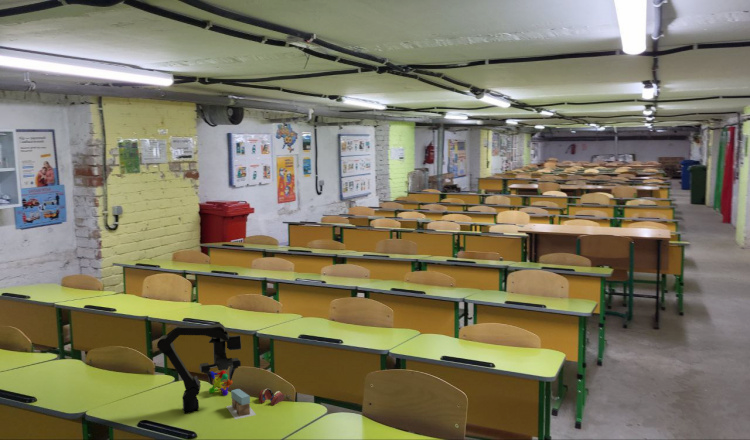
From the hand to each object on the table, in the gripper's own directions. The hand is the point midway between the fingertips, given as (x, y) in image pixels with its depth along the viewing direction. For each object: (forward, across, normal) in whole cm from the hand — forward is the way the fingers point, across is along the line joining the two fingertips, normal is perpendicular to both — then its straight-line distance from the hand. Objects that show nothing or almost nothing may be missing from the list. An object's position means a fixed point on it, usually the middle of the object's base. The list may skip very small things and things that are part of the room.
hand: (220, 382), depth 285 cm
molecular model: (+13, +4, +19) cm, 23 cm away
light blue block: (+7, +7, -9) cm, 13 cm away
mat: (+12, +7, -9) cm, 17 cm away
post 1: (+12, +7, -5) cm, 15 cm away
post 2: (+12, +7, -13) cm, 19 cm away
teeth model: (+13, +23, -5) cm, 27 cm away
